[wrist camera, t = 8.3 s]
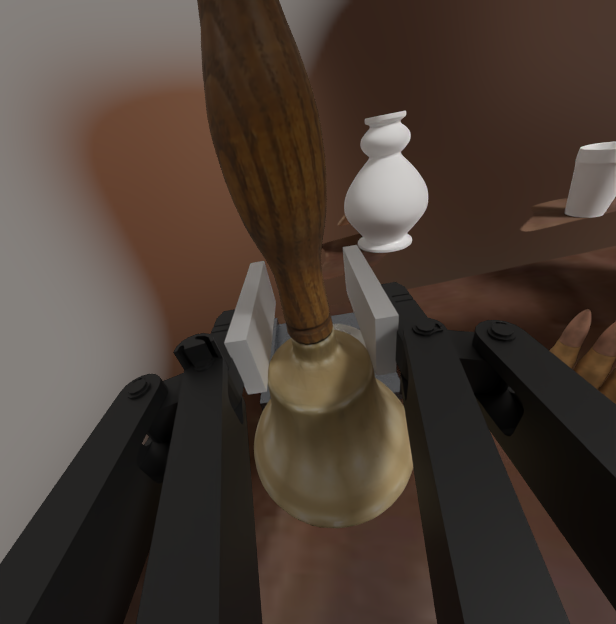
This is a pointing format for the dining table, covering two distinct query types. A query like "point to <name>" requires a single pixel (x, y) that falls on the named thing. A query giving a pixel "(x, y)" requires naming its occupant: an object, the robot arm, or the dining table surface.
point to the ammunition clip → (589, 354)
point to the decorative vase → (385, 188)
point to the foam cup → (593, 181)
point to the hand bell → (297, 278)
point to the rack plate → (340, 323)
